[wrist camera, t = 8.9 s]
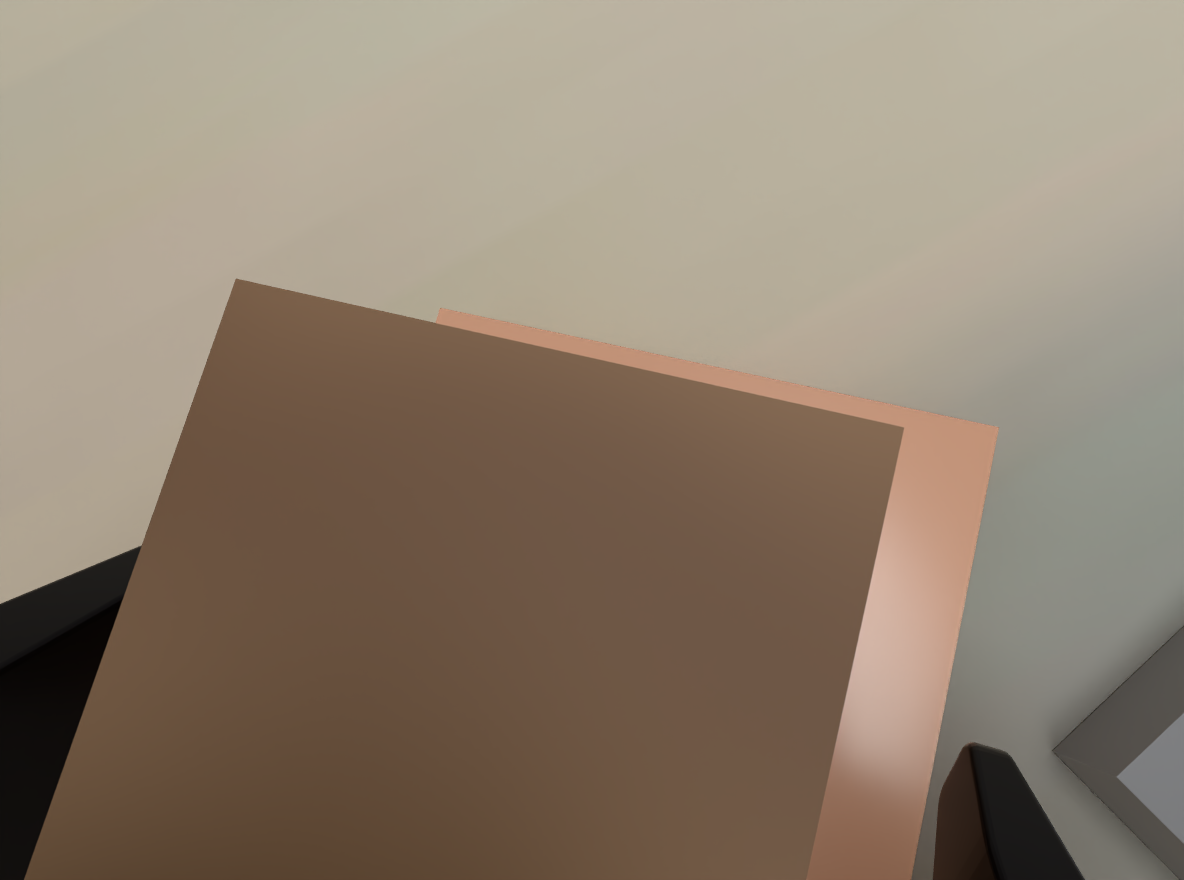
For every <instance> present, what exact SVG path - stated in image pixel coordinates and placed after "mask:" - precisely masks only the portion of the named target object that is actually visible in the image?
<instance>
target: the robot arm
mask: <svg viewBox="0 0 1184 880" xmlns="http://www.w3.org/2000/svg"><path fill="white" fill-rule="evenodd" d="M141 547H142V546H139V547H137V548H134V549H132V550H130V551H127V552H125V553H122V554H120V555H117V556H115V557H113V558H110V559H108V560H105V561H103V562H101V563H98V564H96V565H93V566H91V567H88V568H86V569H84V570H81V571H79V572H76V573H74V574H71V575H69V576H67V577H64V578H62V579H59V580H57V581H55V582H52V583H50V584H47V585H45V586H42V587H40V588H38V589H35V590H33V591H30V592H28V593H26V594H23V595H21V596H18V597H16V598H13V599H11V600H9V601H6V602H4V603H1V604H0V880H24V878H25V876H26V873H27V870H28V867H29V864H30V861H31V858H32V856H33V853H34V850H35V847H36V844H37V841H38V839H39V836H40V833H41V830H42V827H43V824H44V822H45V819H46V816H47V813H48V810H49V807H50V805H51V802H52V799H53V796H54V793H55V790H56V788H57V785H58V782H59V779H60V776H61V773H62V771H63V768H64V765H65V762H66V759H67V756H68V754H69V751H70V748H71V745H72V742H73V739H74V737H75V734H76V731H77V728H78V725H79V722H80V720H81V717H82V714H83V711H84V708H85V705H86V703H87V700H88V697H89V694H90V691H91V688H92V686H93V683H94V680H95V677H96V674H97V671H98V669H99V666H100V663H101V660H102V657H103V654H104V651H105V649H106V646H107V643H108V640H109V637H110V634H111V632H112V629H113V626H114V623H115V620H116V617H117V615H118V612H119V609H120V606H121V603H122V600H123V598H124V595H125V592H126V589H127V586H128V583H129V581H130V578H131V575H132V572H133V569H134V566H135V564H136V561H137V558H138V555H139V552H140V549H141ZM933 880H1085V879H1084V877H1083V876H1082V874H1081V872H1080V871H1079V869H1078V867H1077V866H1076V864H1075V862H1074V861H1073V859H1072V857H1071V856H1070V854H1069V852H1068V851H1067V849H1066V847H1065V846H1064V844H1063V842H1062V840H1061V839H1060V837H1059V835H1058V834H1057V832H1056V830H1055V829H1054V827H1053V825H1052V824H1051V822H1050V820H1049V819H1048V817H1047V815H1046V814H1045V812H1044V810H1043V809H1042V807H1041V805H1040V804H1039V802H1038V800H1037V799H1036V797H1035V795H1034V794H1033V792H1032V790H1031V789H1030V787H1029V785H1028V784H1027V782H1026V780H1025V779H1024V777H1023V775H1022V774H1021V772H1020V770H1019V768H1018V767H1017V765H1016V763H1015V762H1014V760H1013V759H1012V757H1011V756H1010V755H1009V754H1008V753H1006V752H1005V751H1002V750H999V749H996V748H992V747H989V746H985V745H981V744H978V743H974V742H970V743H967V744H966V745H965V746H964V747H963V749H962V750H961V752H960V754H959V756H958V758H957V760H956V762H955V764H954V766H953V768H952V769H951V771H950V773H949V775H948V777H947V779H946V781H945V783H944V785H943V787H942V790H941V794H940V798H939V805H938V817H937V830H936V844H935V858H934V872H933Z"/></svg>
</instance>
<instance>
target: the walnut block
mask: <svg viewBox="0 0 1184 880" xmlns="http://www.w3.org/2000/svg"><path fill="white" fill-rule="evenodd" d="M903 431H904V427H900V426H896V425H891V424H887V423H882V422H878V421H873V420H869V419H864V418H860V417H855V416H851V415H846V414H842V413H837V412H833V411H828V410H824V409H819V408H815V407H810V406H806V405H801V404H797V403H792V402H788V401H783V400H779V399H774V398H770V397H765V396H761V395H756V394H752V393H747V392H743V391H738V390H734V389H729V388H725V387H720V386H716V385H712V384H707V383H703V382H698V381H694V380H689V379H685V378H680V377H676V376H671V375H667V374H662V373H658V372H653V371H649V370H644V369H640V368H635V367H631V366H626V365H622V364H617V363H613V362H608V361H604V360H599V359H595V358H590V357H586V356H581V355H577V354H572V353H568V352H563V351H559V350H554V349H550V348H545V347H541V346H536V345H532V344H527V343H523V342H518V341H514V340H509V339H505V338H500V337H496V336H491V335H487V334H482V333H478V332H473V331H469V330H464V329H460V328H455V327H451V326H446V325H442V324H437V323H433V322H428V321H424V320H419V319H415V318H410V317H406V316H401V315H397V314H392V313H388V312H383V311H379V310H374V309H370V308H365V307H361V306H356V305H352V304H347V303H343V302H338V301H334V300H329V299H325V298H320V297H316V296H311V295H307V294H302V293H298V292H293V291H289V290H285V289H280V288H276V287H271V286H267V285H262V284H258V283H253V282H249V281H244V280H240V279H236V280H235V283H234V286H233V289H232V291H231V294H230V297H229V300H228V303H227V306H226V308H225V311H224V314H223V317H222V320H221V323H220V325H219V328H218V331H217V334H216V337H215V340H214V342H213V345H212V348H211V351H210V354H209V357H208V359H207V362H206V365H205V368H204V371H203V374H202V376H201V379H200V382H199V385H198V388H197V391H196V393H195V396H194V399H193V402H192V405H191V408H190V410H189V413H188V416H187V419H186V422H185V425H184V427H183V430H182V433H181V436H180V439H179V442H178V444H177V447H176V450H175V453H174V456H173V459H172V462H171V464H170V467H169V470H168V473H167V476H166V479H165V481H164V484H163V487H162V490H161V493H160V496H159V498H158V501H157V504H156V507H155V510H154V513H153V515H152V518H151V521H150V524H149V527H148V530H147V532H146V535H145V538H144V541H143V544H142V547H141V549H140V552H139V555H138V558H137V561H136V564H135V566H134V569H133V572H132V575H131V578H130V581H129V583H128V586H127V589H126V592H125V595H124V598H123V600H122V603H121V606H120V609H119V612H118V615H117V617H116V620H115V623H114V626H113V629H112V632H111V634H110V637H109V640H108V643H107V646H106V649H105V651H104V654H103V657H102V660H101V663H100V666H99V669H98V671H97V674H96V677H95V680H94V683H93V686H92V688H91V691H90V694H89V697H88V700H87V703H86V705H85V708H84V711H83V714H82V717H81V720H80V722H79V725H78V728H77V731H76V734H75V737H74V739H73V742H72V745H71V748H70V751H69V754H68V756H67V759H66V762H65V765H64V768H63V771H62V773H61V776H60V779H59V782H58V785H57V788H56V790H55V793H54V796H53V799H52V802H51V805H50V807H49V810H48V813H47V816H46V819H45V822H44V824H43V827H42V830H41V833H40V836H39V839H38V841H37V844H36V847H35V850H34V853H33V856H32V858H31V861H30V864H29V867H28V870H27V873H26V876H25V878H24V880H806V878H807V873H808V869H809V864H810V859H811V855H812V850H813V846H814V841H815V836H816V832H817V827H818V823H819V818H820V813H821V809H822V804H823V800H824V795H825V790H826V786H827V781H828V777H829V772H830V767H831V763H832V758H833V754H834V749H835V744H836V740H837V735H838V730H839V726H840V721H841V717H842V712H843V707H844V703H845V698H846V694H847V689H848V684H849V680H850V675H851V671H852V666H853V661H854V657H855V652H856V648H857V643H858V638H859V634H860V629H861V625H862V620H863V615H864V611H865V606H866V602H867V597H868V592H869V588H870V583H871V579H872V574H873V569H874V565H875V560H876V556H877V551H878V546H879V542H880V537H881V533H882V528H883V523H884V519H885V514H886V510H887V505H888V500H889V496H890V491H891V487H892V482H893V477H894V473H895V468H896V463H897V459H898V454H899V450H900V445H901V440H902V436H903Z"/></svg>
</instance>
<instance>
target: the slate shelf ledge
mask: <svg viewBox="0 0 1184 880" xmlns="http://www.w3.org/2000/svg"><path fill="white" fill-rule="evenodd" d="M1053 752H1054V753H1055V754H1056V755H1057V756H1058V757H1059V758H1060V759H1061V760H1062V761H1063V762H1064V763H1065V764H1066V765H1067V766H1068V767H1069V768H1070V769H1071V770H1072V771H1073V772H1074V773H1075V774H1076V775H1077V776H1078V777H1079V778H1080V779H1081V780H1082V781H1083V782H1084V783H1085V784H1086V785H1087V786H1088V787H1089V788H1090V789H1091V790H1092V791H1093V792H1094V793H1095V794H1096V795H1097V796H1098V797H1099V798H1100V799H1101V800H1102V801H1103V802H1104V803H1105V804H1106V805H1107V806H1108V807H1109V808H1110V809H1111V810H1112V811H1113V812H1114V813H1115V814H1116V815H1117V816H1118V817H1119V818H1120V819H1121V820H1122V821H1123V822H1124V823H1125V824H1126V825H1127V826H1128V827H1129V828H1130V829H1131V830H1132V832H1133V833H1134V834H1135V835H1136V836H1137V837H1138V838H1139V839H1140V840H1141V841H1142V842H1143V843H1144V844H1145V845H1146V846H1147V847H1148V848H1149V849H1150V850H1151V851H1152V852H1153V853H1154V854H1155V855H1156V856H1157V857H1158V858H1159V859H1160V860H1161V861H1162V862H1163V863H1164V864H1165V865H1166V866H1167V867H1168V868H1169V869H1170V870H1171V871H1172V872H1173V873H1174V874H1175V875H1176V876H1177V877H1178V878H1179V879H1180V880H1184V627H1183V628H1182V629H1181V630H1179V631H1178V632H1177V633H1176V634H1175V635H1174V636H1173V637H1172V638H1171V639H1170V640H1169V641H1168V642H1167V643H1166V644H1165V645H1164V646H1163V647H1162V648H1160V649H1159V650H1158V651H1157V652H1156V653H1155V654H1154V655H1153V656H1152V657H1151V658H1150V659H1149V660H1148V661H1147V662H1146V663H1145V664H1144V665H1143V666H1141V667H1140V668H1139V669H1138V670H1137V671H1136V672H1135V673H1134V674H1133V675H1132V676H1131V677H1130V678H1129V679H1128V680H1127V681H1126V682H1125V683H1124V684H1122V685H1121V686H1120V687H1119V688H1118V689H1117V690H1116V691H1115V692H1114V693H1113V694H1112V695H1111V696H1110V697H1109V698H1108V699H1107V700H1106V701H1105V702H1103V703H1102V704H1101V705H1100V706H1099V707H1098V708H1097V709H1096V710H1095V711H1094V712H1093V713H1092V714H1091V715H1090V716H1089V717H1088V718H1087V719H1086V720H1084V721H1083V722H1082V723H1081V724H1080V725H1079V726H1078V727H1077V728H1076V729H1075V730H1074V731H1073V732H1072V733H1071V734H1070V735H1069V736H1068V737H1067V738H1065V739H1064V740H1063V741H1062V742H1061V743H1060V744H1059V745H1058V746H1057V747H1056V748H1055V749H1054V750H1053Z"/></svg>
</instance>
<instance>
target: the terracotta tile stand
mask: <svg viewBox="0 0 1184 880" xmlns="http://www.w3.org/2000/svg"><path fill="white" fill-rule="evenodd" d="M436 323H437V324H442V325H446V326H451V327H455V328H460V329H464V330H469V331H473V332H478V333H482V334H487V335H491V336H496V337H500V338H505V339H509V340H514V341H518V342H523V343H527V344H532V345H536V346H541V347H545V348H550V349H554V350H559V351H563V352H568V353H572V354H577V355H581V356H586V357H590V358H595V359H599V360H604V361H608V362H613V363H617V364H622V365H626V366H631V367H635V368H640V369H644V370H649V371H653V372H658V373H662V374H667V375H671V376H676V377H680V378H685V379H689V380H694V381H698V382H703V383H707V384H712V385H716V386H720V387H725V388H729V389H734V390H738V391H743V392H747V393H752V394H756V395H761V396H765V397H770V398H774V399H779V400H783V401H788V402H792V403H797V404H801V405H806V406H810V407H815V408H819V409H824V410H828V411H833V412H837V413H842V414H846V415H851V416H855V417H860V418H864V419H869V420H873V421H878V422H882V423H887V424H891V425H896V426H900V427H904V431H903V436H902V440H901V445H900V450H899V454H898V459H897V463H896V468H895V473H894V477H893V482H892V487H891V491H890V496H889V500H888V505H887V510H886V514H885V519H884V523H883V528H882V533H881V537H880V542H879V546H878V551H877V556H876V560H875V565H874V569H873V574H872V579H871V583H870V588H869V592H868V597H867V602H866V606H865V611H864V615H863V620H862V625H861V629H860V634H859V638H858V643H857V648H856V652H855V657H854V661H853V666H852V671H851V675H850V680H849V684H848V689H847V694H846V698H845V703H844V707H843V712H842V717H841V721H840V726H839V730H838V735H837V740H836V744H835V749H834V754H833V758H832V763H831V767H830V772H829V777H828V781H827V786H826V790H825V795H824V800H823V804H822V809H821V813H820V818H819V823H818V827H817V832H816V836H815V841H814V846H813V850H812V855H811V859H810V864H809V869H808V873H807V878H806V880H911V877H912V871H913V866H914V861H915V856H916V851H917V846H918V841H919V836H920V830H921V825H922V820H923V815H924V810H925V805H926V800H927V794H928V789H929V784H930V779H931V774H932V769H933V764H934V758H935V753H936V748H937V743H938V738H939V733H940V728H941V722H942V717H943V712H944V707H945V702H946V697H947V692H948V687H949V681H950V676H951V671H952V666H953V661H954V656H955V651H956V645H957V640H958V635H959V630H960V625H961V620H962V615H963V609H964V604H965V599H966V594H967V589H968V584H969V579H970V573H971V568H972V563H973V558H974V553H975V548H976V543H977V538H978V532H979V527H980V522H981V517H982V512H983V507H984V502H985V496H986V491H987V486H988V481H989V476H990V471H991V466H992V460H993V455H994V450H995V445H996V440H997V435H998V430H999V427H995V426H990V425H985V424H981V423H976V422H971V421H967V420H962V419H957V418H953V417H948V416H943V415H939V414H934V413H929V412H924V411H920V410H915V409H910V408H906V407H901V406H896V405H892V404H887V403H882V402H878V401H873V400H868V399H864V398H859V397H854V396H850V395H845V394H840V393H836V392H831V391H826V390H822V389H817V388H812V387H808V386H803V385H798V384H794V383H789V382H784V381H780V380H775V379H770V378H766V377H761V376H756V375H752V374H747V373H742V372H738V371H733V370H728V369H724V368H719V367H714V366H709V365H705V364H700V363H695V362H691V361H686V360H681V359H677V358H672V357H667V356H663V355H658V354H653V353H649V352H644V351H639V350H635V349H630V348H625V347H621V346H616V345H611V344H607V343H602V342H597V341H593V340H588V339H583V338H579V337H574V336H569V335H565V334H560V333H555V332H551V331H546V330H541V329H537V328H532V327H527V326H523V325H518V324H513V323H509V322H504V321H499V320H494V319H490V318H485V317H480V316H476V315H471V314H466V313H462V312H457V311H452V310H448V309H443V308H440V310H439V313H438V317H437V320H436Z"/></svg>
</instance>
